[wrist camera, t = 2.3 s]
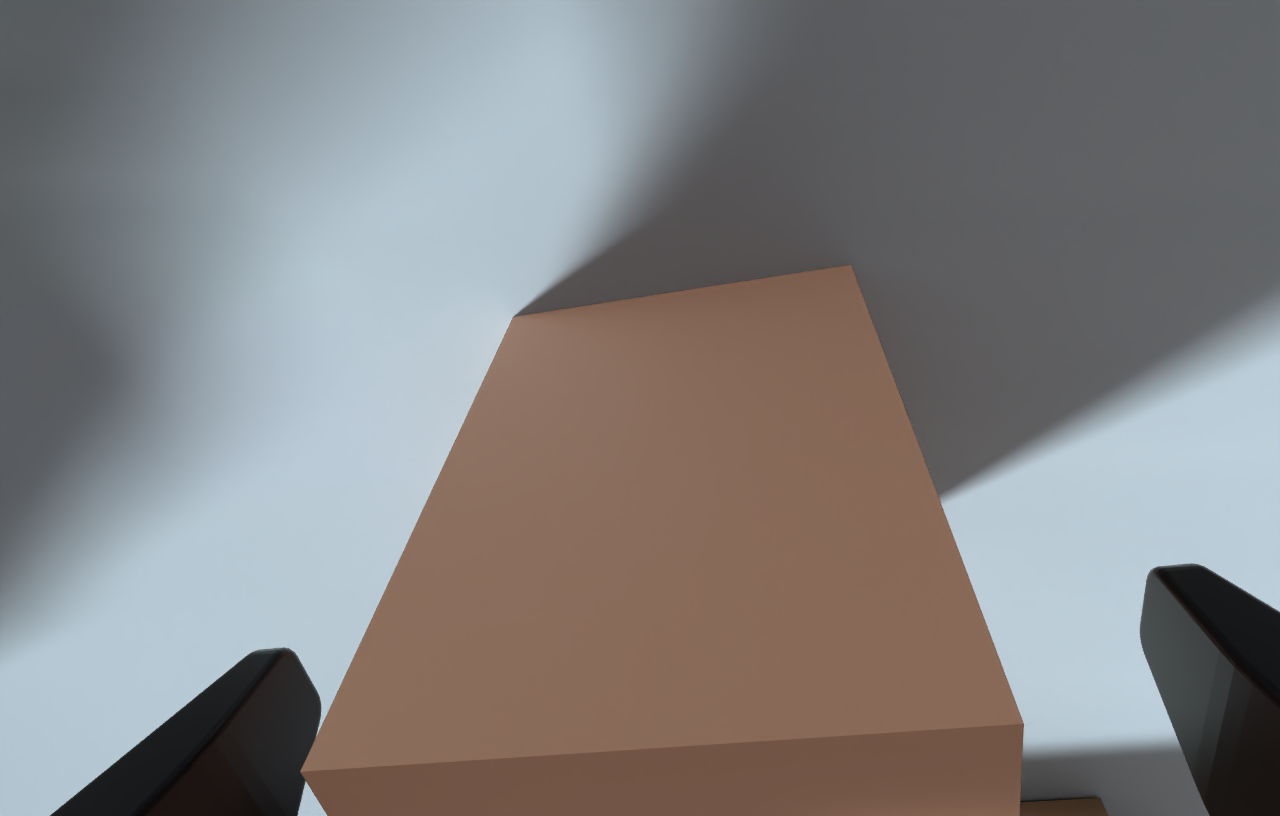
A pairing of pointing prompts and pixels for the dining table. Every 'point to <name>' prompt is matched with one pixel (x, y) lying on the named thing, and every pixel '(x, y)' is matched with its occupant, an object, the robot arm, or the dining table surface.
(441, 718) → the terracotta block
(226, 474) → the dining table surface
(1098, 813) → the walnut base
